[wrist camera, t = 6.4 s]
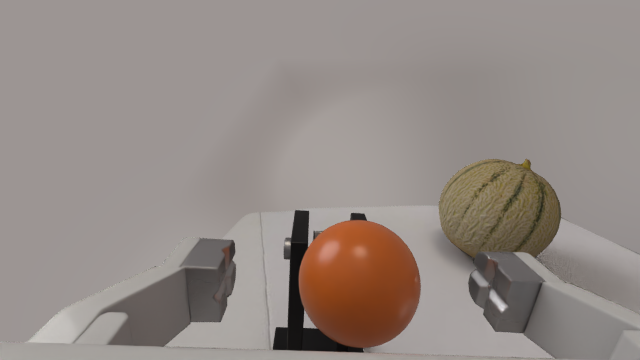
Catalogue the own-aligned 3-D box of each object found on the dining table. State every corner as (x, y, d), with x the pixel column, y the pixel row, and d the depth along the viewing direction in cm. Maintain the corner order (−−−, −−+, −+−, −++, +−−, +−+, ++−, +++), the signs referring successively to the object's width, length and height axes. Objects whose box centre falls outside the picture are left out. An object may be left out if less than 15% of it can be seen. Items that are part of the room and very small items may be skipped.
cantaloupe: (410, 240, 48) (427, 148, 43) (472, 225, 54) (492, 144, 49) (497, 300, 36) (535, 182, 31) (563, 272, 42) (603, 170, 37)
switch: (444, 374, 7) (442, 222, 8) (292, 370, 7) (300, 215, 8) (352, 275, 21) (353, 224, 22) (301, 273, 21) (304, 221, 22)
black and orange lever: (379, 466, 20) (418, 278, 15) (257, 464, 19) (255, 271, 14) (358, 339, 29) (377, 199, 24) (275, 336, 29) (278, 194, 24)
